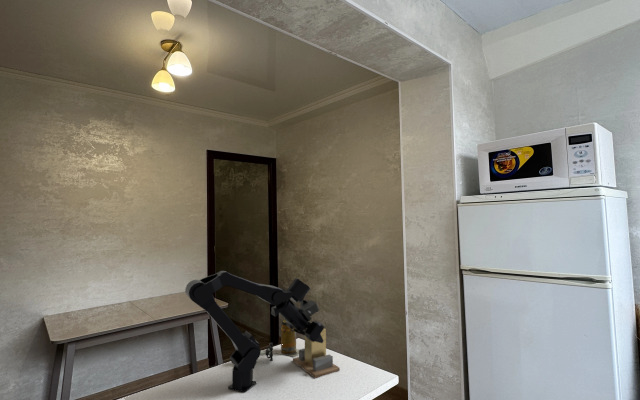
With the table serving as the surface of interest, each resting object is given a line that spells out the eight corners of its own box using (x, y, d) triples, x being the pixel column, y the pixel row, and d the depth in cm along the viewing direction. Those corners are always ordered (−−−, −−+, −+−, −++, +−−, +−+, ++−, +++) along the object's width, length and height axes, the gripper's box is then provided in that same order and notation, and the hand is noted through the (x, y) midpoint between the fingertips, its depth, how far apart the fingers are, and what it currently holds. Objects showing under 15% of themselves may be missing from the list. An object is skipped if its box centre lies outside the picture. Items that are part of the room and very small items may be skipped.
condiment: (286, 347, 134) (286, 318, 135) (304, 350, 130) (303, 320, 131) (276, 353, 128) (276, 322, 129) (294, 357, 124) (294, 325, 125)
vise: (339, 370, 112) (339, 357, 112) (315, 378, 107) (314, 364, 107) (315, 354, 126) (315, 343, 126) (292, 360, 121) (292, 348, 121)
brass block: (311, 367, 113) (311, 331, 114) (304, 362, 117) (304, 328, 118) (326, 363, 116) (325, 328, 117) (318, 358, 120) (318, 325, 121)
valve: (239, 367, 115) (272, 364, 118) (239, 348, 116) (273, 346, 118) (239, 360, 122) (271, 357, 124) (240, 342, 122) (271, 339, 125)
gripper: (319, 299, 108) (345, 327, 113) (293, 290, 124) (318, 315, 129) (298, 327, 103) (327, 355, 108) (274, 314, 119) (300, 339, 124)
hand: (318, 339), depth 118 cm, fingers open, 6 cm apart
